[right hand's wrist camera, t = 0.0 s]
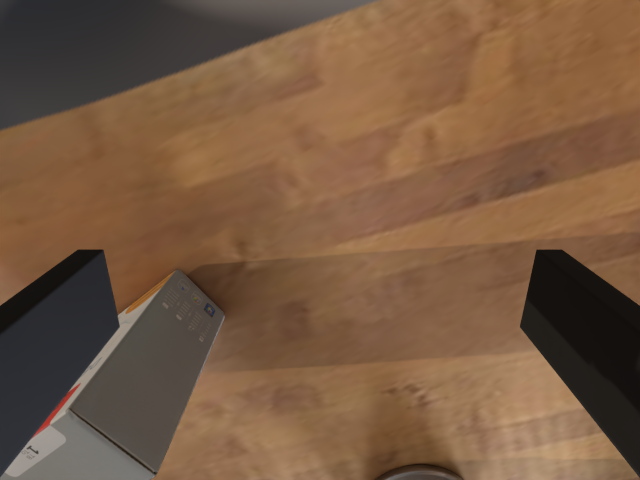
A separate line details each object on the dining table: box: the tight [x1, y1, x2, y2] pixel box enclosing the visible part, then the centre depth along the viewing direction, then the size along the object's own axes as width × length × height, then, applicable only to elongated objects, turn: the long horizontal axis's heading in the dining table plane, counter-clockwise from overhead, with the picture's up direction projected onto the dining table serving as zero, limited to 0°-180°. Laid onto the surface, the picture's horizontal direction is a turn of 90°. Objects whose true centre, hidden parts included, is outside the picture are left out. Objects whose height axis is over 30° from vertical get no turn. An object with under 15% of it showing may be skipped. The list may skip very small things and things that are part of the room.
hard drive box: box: [0, 269, 225, 480], centre depth 37 cm, size 16×8×20 cm, turn 128°
